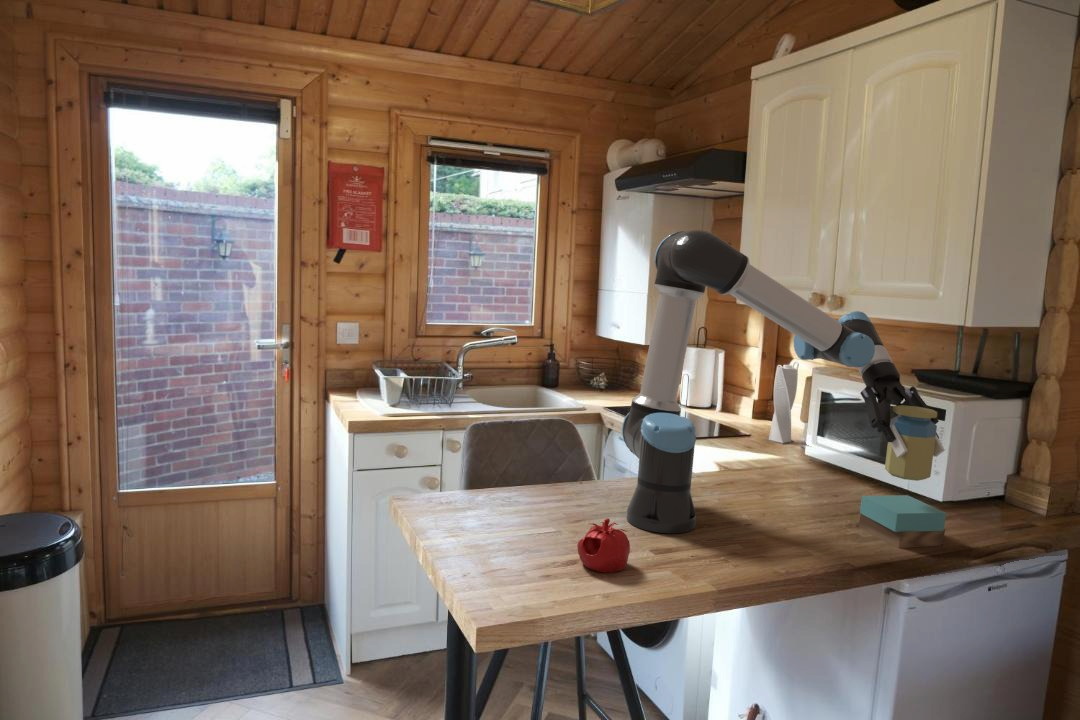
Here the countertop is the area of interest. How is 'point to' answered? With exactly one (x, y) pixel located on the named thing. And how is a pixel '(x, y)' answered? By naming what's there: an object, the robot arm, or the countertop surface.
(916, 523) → the tower top
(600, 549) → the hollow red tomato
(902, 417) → the jar
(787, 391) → the skyscraper
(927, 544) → the tower base
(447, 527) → the countertop surface
